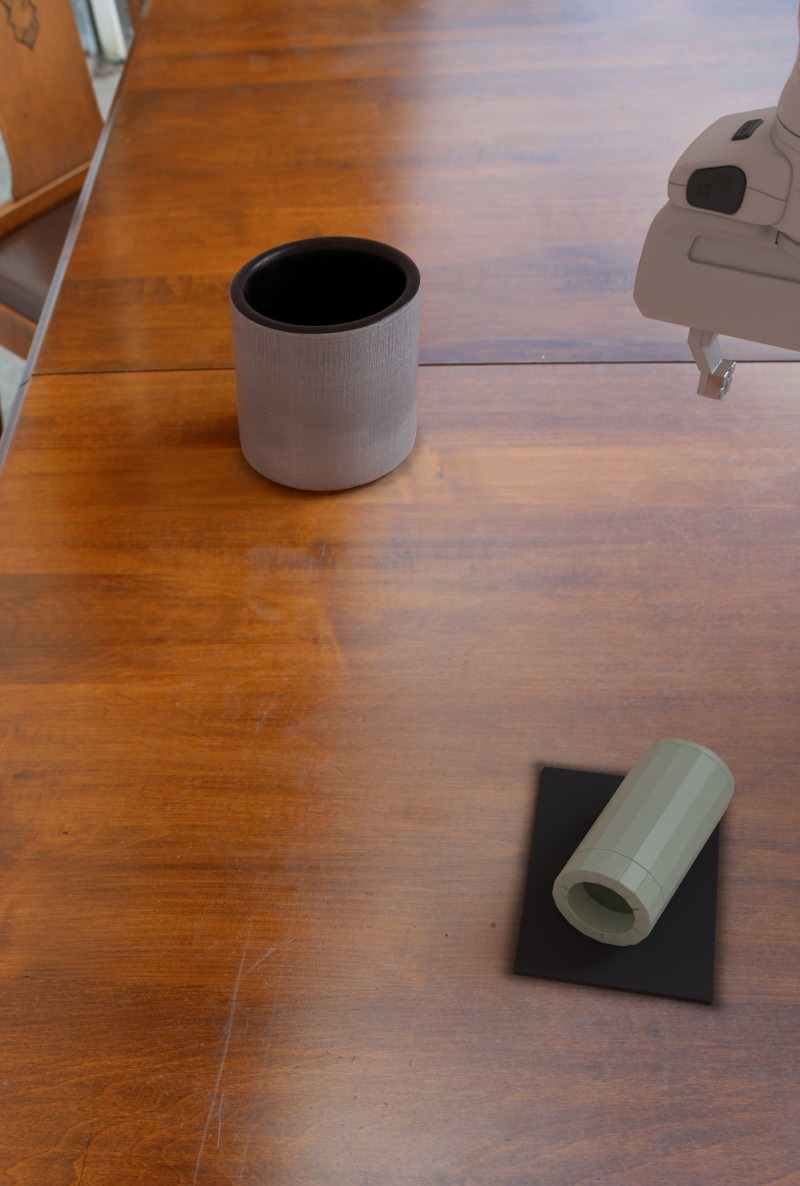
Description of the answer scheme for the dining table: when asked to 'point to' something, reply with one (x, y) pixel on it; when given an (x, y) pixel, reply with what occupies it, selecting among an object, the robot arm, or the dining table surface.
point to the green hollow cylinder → (644, 842)
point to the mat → (561, 952)
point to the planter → (327, 361)
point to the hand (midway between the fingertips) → (790, 412)
